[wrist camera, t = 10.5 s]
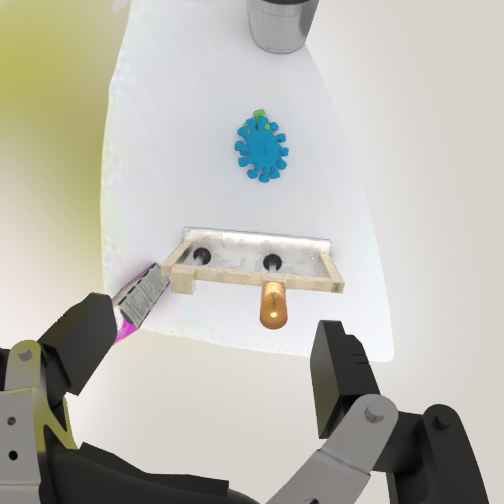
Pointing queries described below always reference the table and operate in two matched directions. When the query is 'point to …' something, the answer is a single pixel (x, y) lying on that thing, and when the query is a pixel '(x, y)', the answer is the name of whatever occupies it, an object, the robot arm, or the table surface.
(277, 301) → the cylinder
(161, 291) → the candy bar box
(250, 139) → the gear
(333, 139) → the table surface
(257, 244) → the divider frame
